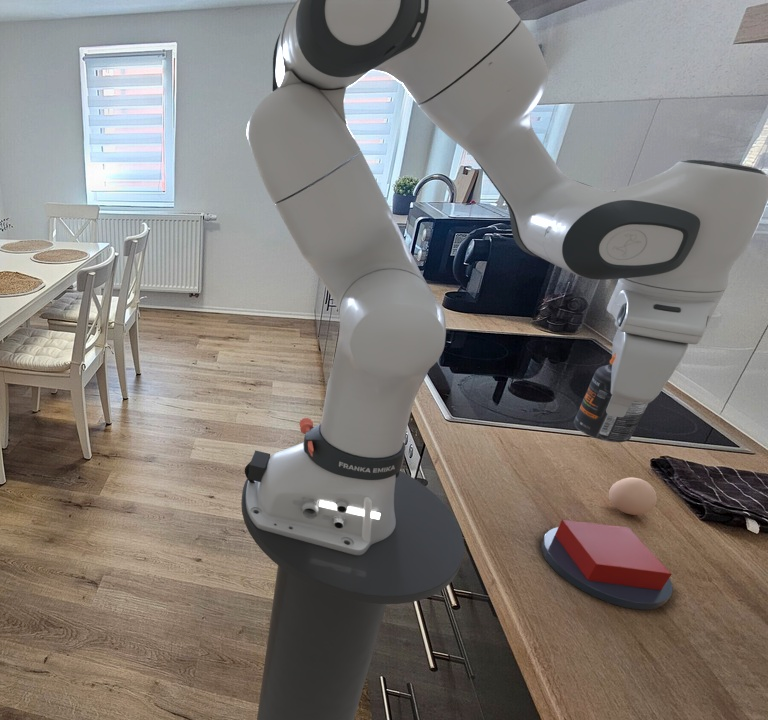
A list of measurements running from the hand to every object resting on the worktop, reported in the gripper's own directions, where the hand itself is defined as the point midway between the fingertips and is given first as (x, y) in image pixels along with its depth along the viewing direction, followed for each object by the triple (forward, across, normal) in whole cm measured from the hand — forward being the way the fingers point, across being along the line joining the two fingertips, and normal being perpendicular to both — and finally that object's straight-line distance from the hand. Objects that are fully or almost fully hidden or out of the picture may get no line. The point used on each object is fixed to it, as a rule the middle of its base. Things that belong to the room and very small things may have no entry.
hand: (614, 402), depth 66 cm
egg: (+21, -9, +7) cm, 24 cm away
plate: (+21, +7, +5) cm, 23 cm away
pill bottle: (+5, 0, 0) cm, 5 cm away
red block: (+20, +7, +5) cm, 22 cm away
